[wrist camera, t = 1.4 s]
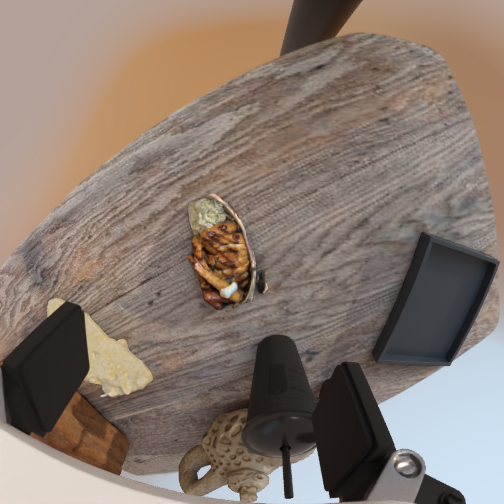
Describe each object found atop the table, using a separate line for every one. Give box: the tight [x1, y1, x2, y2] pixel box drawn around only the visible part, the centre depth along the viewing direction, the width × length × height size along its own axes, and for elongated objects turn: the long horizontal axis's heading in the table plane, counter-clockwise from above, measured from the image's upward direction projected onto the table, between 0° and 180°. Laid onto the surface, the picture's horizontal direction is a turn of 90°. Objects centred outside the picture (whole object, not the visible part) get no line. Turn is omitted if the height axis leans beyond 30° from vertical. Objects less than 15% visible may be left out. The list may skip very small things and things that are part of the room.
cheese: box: [47, 298, 153, 397], centre depth 32 cm, size 15×7×15 cm
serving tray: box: [372, 232, 500, 366], centre depth 32 cm, size 17×14×2 cm
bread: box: [0, 353, 129, 475], centre depth 35 cm, size 14×28×12 cm, turn 32°
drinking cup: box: [241, 335, 317, 499], centre depth 26 cm, size 8×8×20 cm
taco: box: [187, 193, 268, 311], centre depth 29 cm, size 7×12×4 cm, turn 22°
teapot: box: [179, 408, 315, 502], centre depth 32 cm, size 21×12×15 cm, turn 121°
